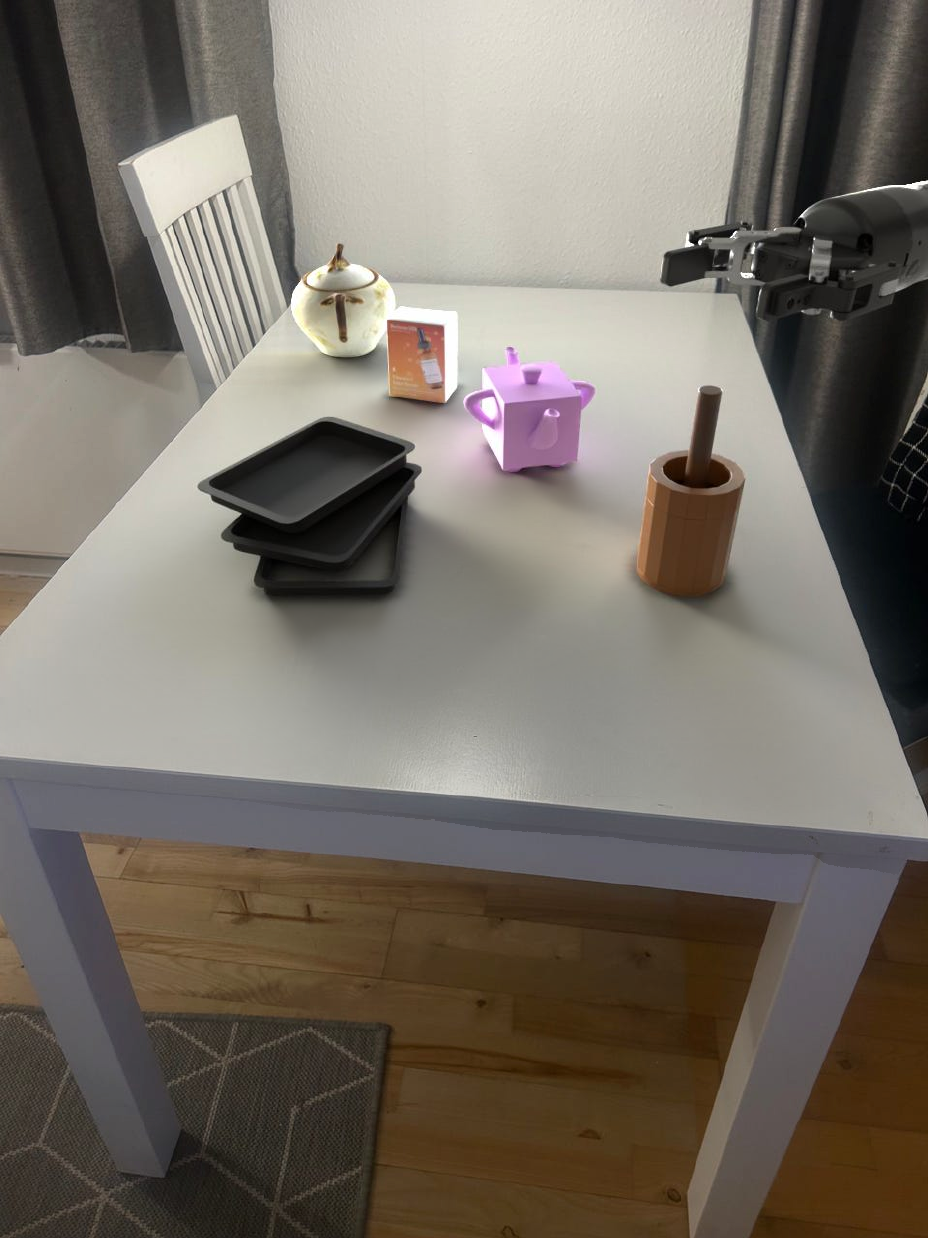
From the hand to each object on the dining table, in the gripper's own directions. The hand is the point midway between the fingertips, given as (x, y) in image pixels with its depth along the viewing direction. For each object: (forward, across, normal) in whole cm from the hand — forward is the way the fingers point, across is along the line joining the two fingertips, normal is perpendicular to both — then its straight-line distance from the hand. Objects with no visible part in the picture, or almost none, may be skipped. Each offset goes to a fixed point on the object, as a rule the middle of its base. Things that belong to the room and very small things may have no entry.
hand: (711, 286), depth 59 cm
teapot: (-14, -36, +32) cm, 50 cm away
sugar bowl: (-13, -79, +31) cm, 86 cm away
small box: (-14, -58, +31) cm, 68 cm away
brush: (-11, -8, +31) cm, 34 cm away
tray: (+14, -36, +32) cm, 50 cm away
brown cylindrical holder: (-11, -8, +32) cm, 34 cm away
